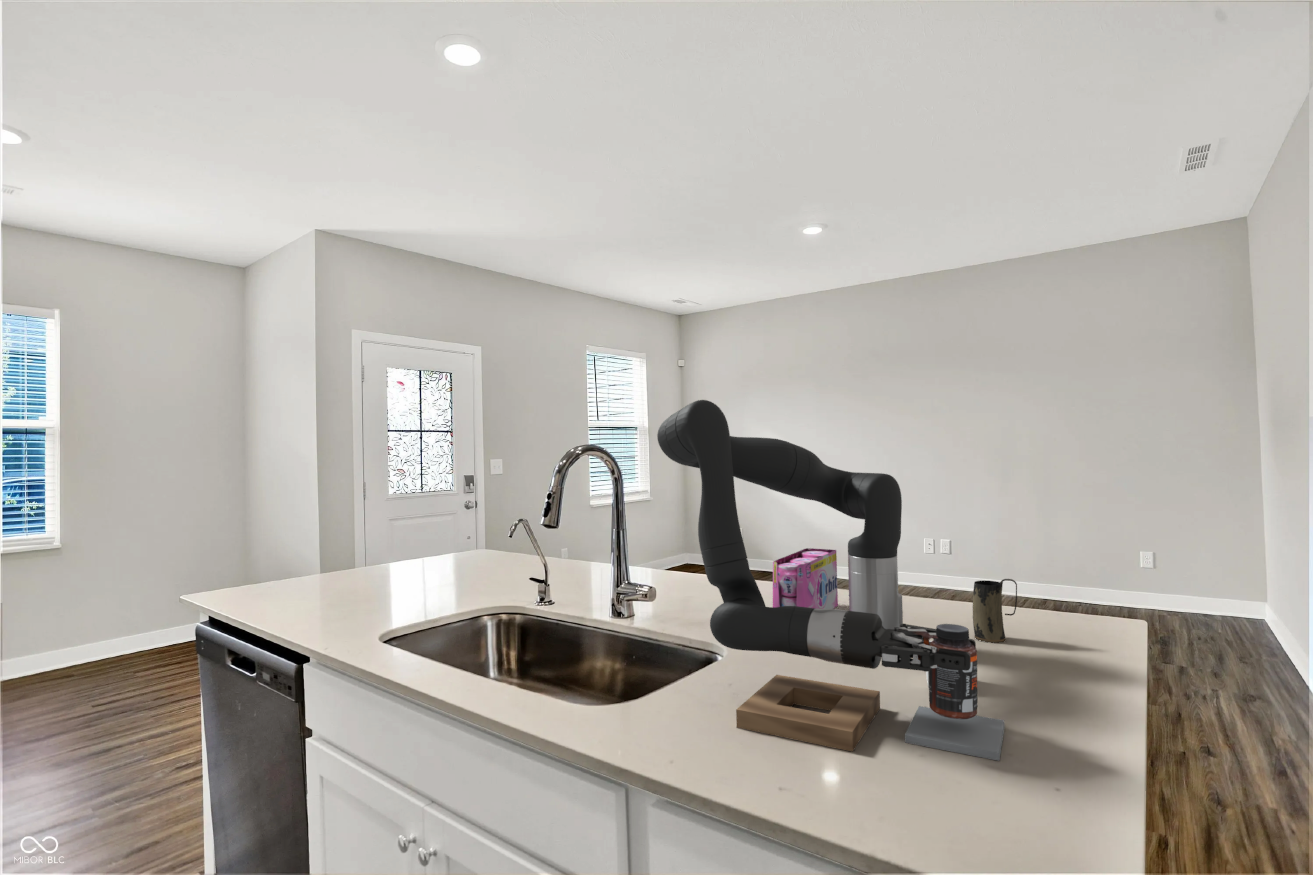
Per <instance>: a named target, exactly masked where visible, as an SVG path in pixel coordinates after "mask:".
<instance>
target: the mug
mask: <svg viewBox="0 0 1313 875" xmlns="http://www.w3.org/2000/svg"><path fill="white" fill-rule="evenodd" d="M1005 581H1010V582H1013V583H1014V584H1015V604H1014V610H1013V613H1004V615H1005V616H1010V617H1011V616H1014V615H1015V614H1016V610H1017V600H1018V584H1017V581H1016V580H1014V579H1012V578H1004V579H1001V581H995V580H976V581H974V583H973V591H972V624H973V631H974V632H973V633H974V639H975V638H976V639H978V640H977V641H979V640H981V641H980V642H982V641H985V642H984V643H988V642H991V643H990V644H993V642H994V644H1000V643H999V642H1002V643H1005V642H1006V641H1005V640H1006V639H1007V638H1006V633H1005V628H1004V619H1003V618H1004V617H1003V603H1002V602H1003V598H1002V597H1003V596H1002V594H1003V583H1004V582H1005ZM976 639H975V640H976ZM1004 641H1005V642H1004Z"/></svg>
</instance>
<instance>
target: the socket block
mask: <svg viewBox="0 0 1313 875" xmlns="http://www.w3.org/2000/svg"><path fill="white" fill-rule="evenodd" d="M793 705H797V706H802V707H808V708H814V709H819V710H825V711H829V712H828V713H826V712H825V713H824V712H820V711H813V710H811V709H810V710H808V709H803V708H797V707H793ZM880 709H881V692H880V690H876V689H868V688H863V687H855V686H850V685H843V684H837V683H831V682H825V681H824V682H823V681H819V680H813V679H806V678H800V677H793V676H787V675H782V674H776V675H775V676H773V677H771V679H770V680H769V681H767V682H766V683H765V684H764V685H763V686H761V687H760V688H759V689H758V690H757V691H755V692H754V694H752V695H751V696H750V697H749V698H748V699H746V700H745V701H744V702H743V703H742V704H740V705H739V706H738V707H737V708H736V710H735V711H736V712H735V713H736V714H735V716H736V729H737V728H738V729H743V730H746V731H752V732H756V733H760V734H766V735H770V736H771V735H772V736H774V737H775V736H776V737H780V738H786V739H791V740H796V741H800V742H804V743H810V744H814V745H818V746H823V747H828V748H834V749H838V750H844V751H848V752H854V750H855V749H856V747H857V746H858V744H859V742H860V741H861V739H862V737H864V735H865V733H866V731H867V730H868V728H869V726H870V725H871V723H872V722H873V720H874V718H875V717H876V715H877V714H878V713H879V711H880Z"/></svg>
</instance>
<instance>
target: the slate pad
mask: <svg viewBox="0 0 1313 875" xmlns="http://www.w3.org/2000/svg"><path fill="white" fill-rule="evenodd" d="M1005 726H1006V725H1005V720H1004V719H1001V718H993V717H989V716H988V717H987V716H980V715H977V714H976V715H975V716H974V717H972V718H970V719H953V718H948V717H944V716H941V715H939V714H937V713H935V712H934V711H933V710H931V708H930V707H928V706H921V705H918V708H917V709H916V712H915V713H914V716H913V717H912V719H911V722H910V724H909V726H908V728H907V729H906V732H905V733H904V743H905V744H906V743H907V744H911V745H914V746H915V745H916V746H920V747H927V748H931V749H935V750H943V751H947V752H952V753H956V754H962V755H968V756H972V757H978V758H983V759H987V760H988V759H989V760H994V761H998V762H1000V760H1001V759H1000V758H1001V752H1002V748H1003V746H1002V745H1003V739H1004V734H1005Z"/></svg>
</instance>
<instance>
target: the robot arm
mask: <svg viewBox="0 0 1313 875" xmlns="http://www.w3.org/2000/svg"><path fill="white" fill-rule="evenodd" d="M729 428H730V427H729V424H728V420H727V418H726V415H725V414H724V412H723V410H722V409H721V408H720V407H719V406H718V405H717V404H716V403H714V402H712V401H710V400H707V399H698V400H695V401H693V402H691V403H689V404H687V405H685V406H684V407H683V408H680V409H678V410H677V411H676V412H674V413H672V414H671V415H669V416H668V417H667V418H666V419H665V420H664V421H663V422H662V423H661V424H660V425H659V427H658V431H657V434H656V436H657V443H658V445H659V447H660V450H661V451H662V453H664V455H665V456H666V457H668V459H670V460H671V461H673V462H675V463H677V464H679V465H682V466H686V467H691V468H697V469H699V471H700V472H699V473H700V478H701V497H700V498H701V499H700V504H699V505H700V507H699V516H698V522H697V523H698V524H697V526H698V527H697V531H698V532H697V533H698V534H697V535H698V544H699V549H700V553H701V558H702V562H703V567H704V571H705V575H706V578H707V580H708V582H709V583H710V585H712V586H714V587H716V588H717V589H718V591H719V594H720V597H721V599H722V603H721V604H720V605H718V606H717V607H716V608H715V609H714V610H713V612H712V614H711V617H710V620H709V628H710V631H711V634H712V635H713V638H714V639H715V640H716V641H717V642H718V643H720V645H722V646H725V647H727V648H729V649H731V650H738V651H748V652H749V651H751V652H753V651H754V652H757V651H758V652H779V653H786V654H790V655H794V656H795V655H796V656H802V657H808V658H814V659H818V660H821V661H825V662H829V663H834V664H840V665H847V666H852V667H853V666H854V667H860V668H866V669H872V670H873V669H877V668H878V667H879V666H880V663H881V666H882V667H885V668H895V669H901V670H902V669H903V670H913V671H922V672H925V673H926V672H927V671H930V667H931V668H938V665H939V667H946V668H953V669H959V670H966V671H967V670H969V669H970V667H971V656H970V654H969V653H968V652H964V651H957V650H950V649H943V648H939V651H938V648H936V647H934V646H929V645H930V643H931V642H930V641H931V640H930V639H933V640H936V639H937V638H938V637H937V635H936V628H931V627H926V626H925V627H924V626H920V625H912V624H907V623H904V618H903V617H904V615H903V594H901V593H899V574H898V573H899V571H898V569H899V568H898V567H899V566H898V547H899V545H900V541H901V535H902V506H903V505H902V504H903V503H902V502H903V500H902V490H901V488H900V484H899V483H898V481H897V479H896V478H894V476H892V475H891V474H887V473H882V472H881V473H879V472H856V471H855V472H854V471H846V470H842V469H839V468H834V467H832V466H829V465H827V464H825V463H824V462H823V461H822V460H821V459H820V458H819V457H818V456H817V454H815V453H814V452H813V451H811V450H809V449H807V448H805V447H803V446H800V445H797V444H794V443H791V442H789V441H787V440H783V439H778V438H772V437H755V436H754V437H752V436H751V437H750V436H747V437H746V436H745V437H743V436H734V435H731V434H730V429H729ZM734 477H735V478H737V479H740V480H743V481H745V482H748V483H752V484H755V485H758V486H762V487H763V488H766V489H769V490H771V491H775V492H778V493H781V494H783V495H786V496H790V497H791V496H792V497H795V498H798V499H802V500H803V499H804V500H809V501H815V502H818V503H821V504H823V505H825V506H827V507H830V508H832V509H834V510H836V511H838V512H840V513H842V514H843V515H846V516H847V517H850V518H853V519H857V520H864V526H863V531H862V533H861V534H860V535H858V536H856V537H852V538H850V539H849V540H848V542H847V567H848V568H847V569H848V573H847V574H848V601H849V602H848V603H849V604H848V607H849V609H848V610H845V609H838V608H834V609H815V608H807V607H799V606H781V607H773V606H771V607H770V606H767V605H766V603H765V600H764V598H763V596H762V593H761V591H760V588H759V585H758V583H757V581H756V580H755V578H754V576H753V574H752V572H751V569H750V565H749V564H750V563H749V561H748V556H747V551H746V548H745V547H746V546H745V543H744V538H743V536H742V535H743V534H742V531H741V525H740V521H739V514H738V509H737V502H736V492H735V490H736V489H735V480H734V479H735V478H734ZM933 640H932V641H933ZM968 640H969V641H970V643H971V644H972V645H973V646H974V647H975V648H976V649H977V646H976V643H977V642H976V641H975V639H973V638H969V639H968Z"/></svg>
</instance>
